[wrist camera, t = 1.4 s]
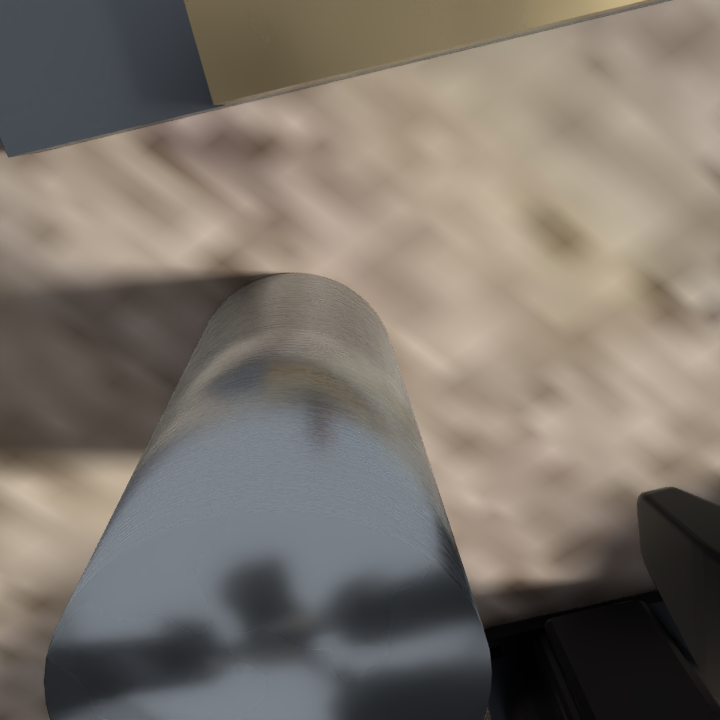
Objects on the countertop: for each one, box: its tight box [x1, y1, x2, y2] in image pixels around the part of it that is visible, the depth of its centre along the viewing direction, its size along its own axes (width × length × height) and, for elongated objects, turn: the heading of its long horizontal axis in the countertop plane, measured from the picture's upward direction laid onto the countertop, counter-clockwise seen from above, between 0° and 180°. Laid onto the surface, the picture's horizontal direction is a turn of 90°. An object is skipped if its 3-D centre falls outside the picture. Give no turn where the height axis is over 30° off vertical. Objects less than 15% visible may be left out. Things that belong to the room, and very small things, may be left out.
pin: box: [44, 273, 492, 720], centre depth 11 cm, size 4×4×9 cm
